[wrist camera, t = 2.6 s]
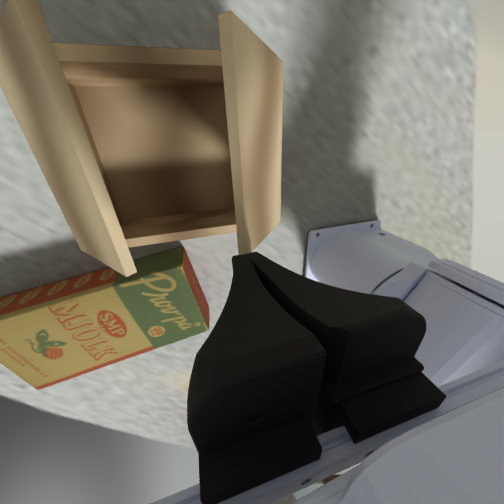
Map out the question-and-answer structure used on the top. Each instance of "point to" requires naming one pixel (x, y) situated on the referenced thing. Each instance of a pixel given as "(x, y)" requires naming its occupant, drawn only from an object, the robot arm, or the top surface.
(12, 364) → the carton
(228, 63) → the flap
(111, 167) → the cardboard box
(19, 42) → the flap
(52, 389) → the top surface
